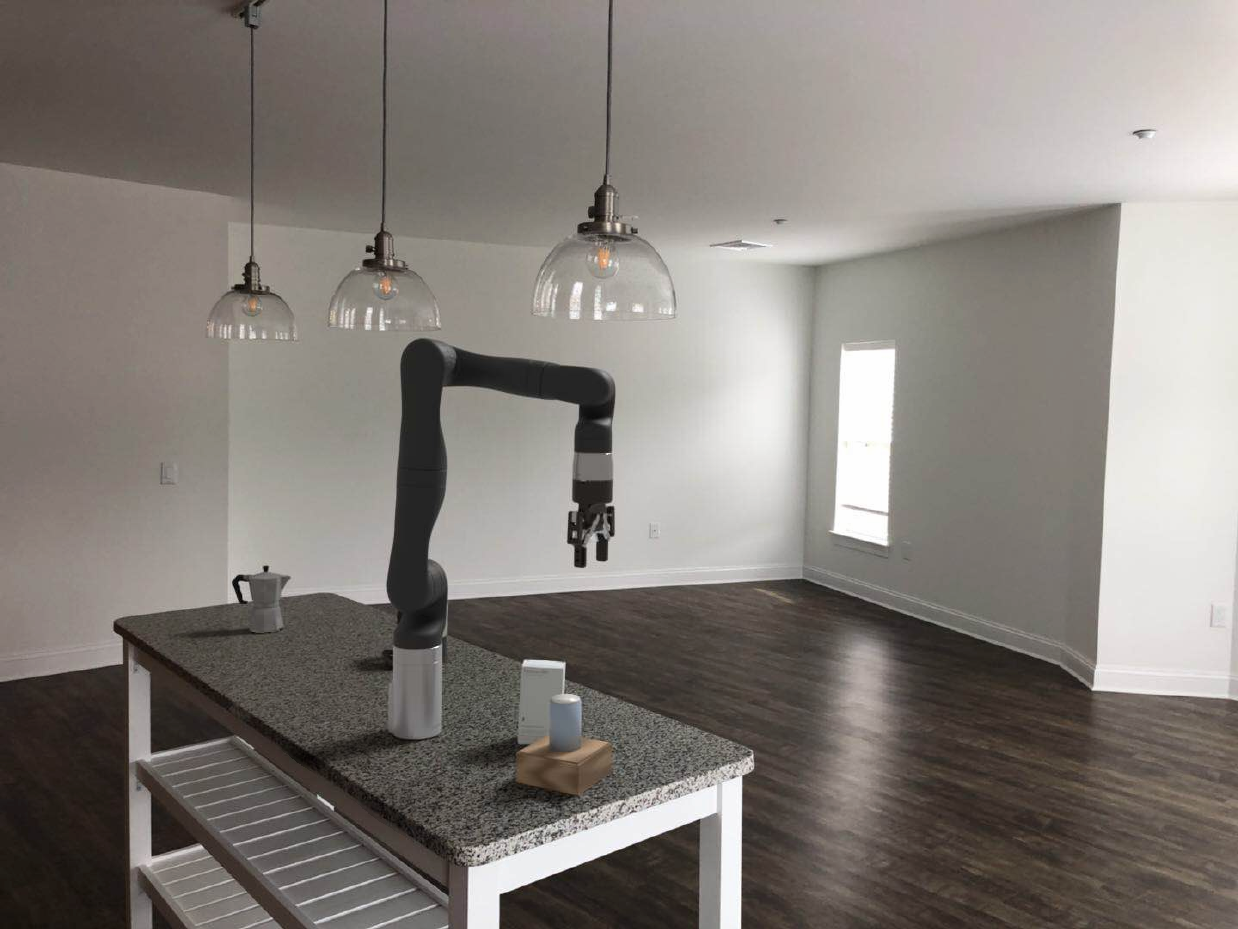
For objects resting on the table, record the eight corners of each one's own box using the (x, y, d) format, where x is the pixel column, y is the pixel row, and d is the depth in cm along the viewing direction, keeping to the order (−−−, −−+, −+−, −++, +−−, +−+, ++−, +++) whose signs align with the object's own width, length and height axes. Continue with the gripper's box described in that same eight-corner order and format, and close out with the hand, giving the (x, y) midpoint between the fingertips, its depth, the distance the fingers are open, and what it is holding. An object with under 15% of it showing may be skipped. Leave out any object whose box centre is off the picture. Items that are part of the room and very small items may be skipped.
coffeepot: (292, 625, 277) (292, 562, 276) (289, 633, 268) (289, 567, 267) (234, 627, 274) (234, 563, 273) (229, 635, 265) (229, 568, 264)
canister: (543, 748, 166) (544, 699, 166) (559, 739, 171) (559, 692, 171) (571, 754, 164) (571, 704, 164) (586, 744, 169) (587, 696, 168)
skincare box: (517, 745, 183) (518, 666, 182) (520, 734, 189) (521, 658, 188) (562, 746, 183) (563, 667, 182) (564, 735, 189) (565, 659, 188)
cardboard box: (515, 782, 165) (516, 751, 165) (551, 759, 176) (552, 731, 176) (578, 795, 160) (578, 764, 160) (611, 772, 171) (612, 742, 170)
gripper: (592, 474, 189) (591, 557, 190) (555, 478, 176) (554, 567, 177) (627, 475, 186) (626, 561, 187) (592, 480, 173) (590, 571, 174)
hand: (591, 564), depth 182 cm, fingers open, 8 cm apart
